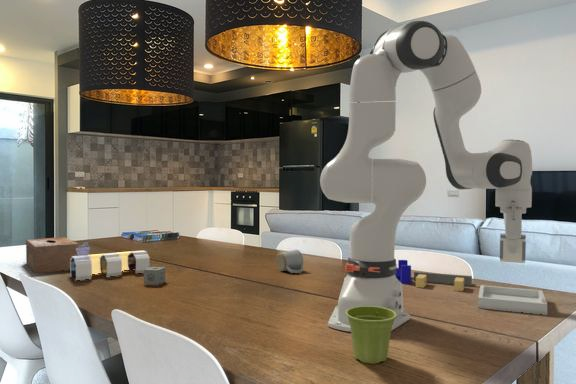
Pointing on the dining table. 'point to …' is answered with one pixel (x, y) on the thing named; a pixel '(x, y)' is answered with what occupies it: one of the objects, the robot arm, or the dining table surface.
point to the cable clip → (403, 272)
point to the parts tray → (512, 299)
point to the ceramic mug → (290, 261)
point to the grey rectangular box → (512, 257)
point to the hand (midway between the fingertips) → (512, 251)
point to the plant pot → (370, 332)
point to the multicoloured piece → (107, 263)
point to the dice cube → (154, 275)
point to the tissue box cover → (50, 254)
